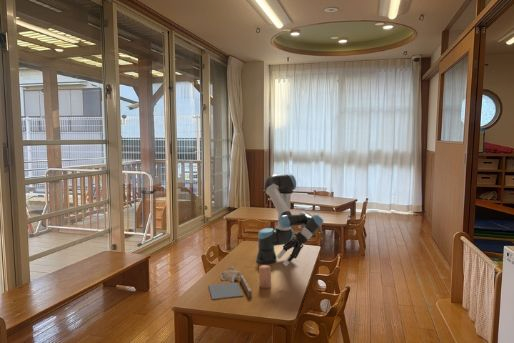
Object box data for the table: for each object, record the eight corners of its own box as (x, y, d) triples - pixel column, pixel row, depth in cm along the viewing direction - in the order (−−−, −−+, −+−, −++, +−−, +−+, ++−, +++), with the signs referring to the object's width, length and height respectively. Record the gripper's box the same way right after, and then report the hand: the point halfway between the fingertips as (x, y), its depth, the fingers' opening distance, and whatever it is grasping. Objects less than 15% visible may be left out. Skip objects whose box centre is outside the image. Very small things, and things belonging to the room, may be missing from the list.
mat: (208, 286, 227) (208, 285, 227) (237, 283, 231) (237, 282, 231) (212, 299, 207) (212, 298, 207) (243, 296, 211) (243, 295, 211)
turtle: (243, 283, 239) (244, 267, 241) (238, 283, 230) (240, 267, 232) (220, 280, 243) (222, 265, 245) (215, 280, 234) (217, 264, 236)
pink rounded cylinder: (258, 284, 228) (258, 265, 227) (269, 283, 230) (268, 264, 229) (261, 288, 221) (260, 269, 220) (272, 287, 223) (272, 268, 222)
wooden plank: (240, 281, 234) (240, 274, 234) (242, 280, 235) (242, 274, 234) (248, 297, 209) (248, 291, 209) (251, 297, 209) (251, 290, 209)
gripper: (315, 244, 217) (291, 272, 215) (300, 234, 242) (279, 258, 239) (307, 236, 216) (283, 264, 214) (293, 227, 240) (271, 251, 238)
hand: (281, 261), depth 226 cm, fingers open, 13 cm apart
